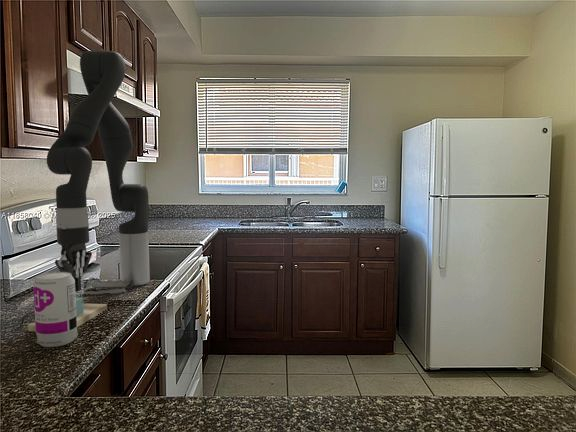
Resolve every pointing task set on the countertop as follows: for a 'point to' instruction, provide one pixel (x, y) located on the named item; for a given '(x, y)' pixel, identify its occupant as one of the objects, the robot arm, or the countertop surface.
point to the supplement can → (55, 309)
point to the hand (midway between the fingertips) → (75, 291)
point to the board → (88, 314)
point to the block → (79, 306)
